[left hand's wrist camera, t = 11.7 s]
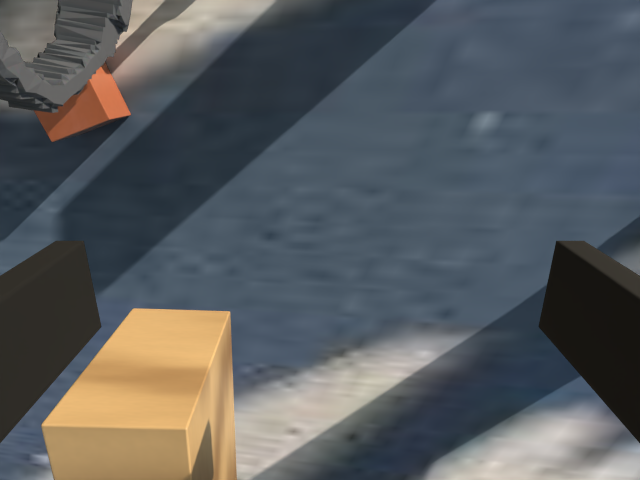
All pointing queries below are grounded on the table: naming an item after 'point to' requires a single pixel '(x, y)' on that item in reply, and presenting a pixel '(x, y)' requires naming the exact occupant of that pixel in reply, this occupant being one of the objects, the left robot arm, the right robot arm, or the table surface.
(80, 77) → the toy
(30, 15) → the table surface
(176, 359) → the wood beam
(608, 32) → the table surface
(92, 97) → the terracotta block
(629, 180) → the table surface
